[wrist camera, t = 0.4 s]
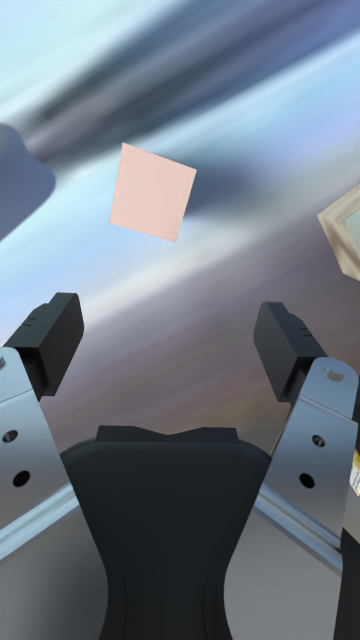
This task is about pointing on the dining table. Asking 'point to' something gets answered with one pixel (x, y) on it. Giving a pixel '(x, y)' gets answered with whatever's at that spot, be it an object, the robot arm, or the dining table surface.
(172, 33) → the dining table surface
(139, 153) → the pillar block
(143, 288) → the dining table surface
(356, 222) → the tower top
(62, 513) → the robot arm
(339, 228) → the tower base
